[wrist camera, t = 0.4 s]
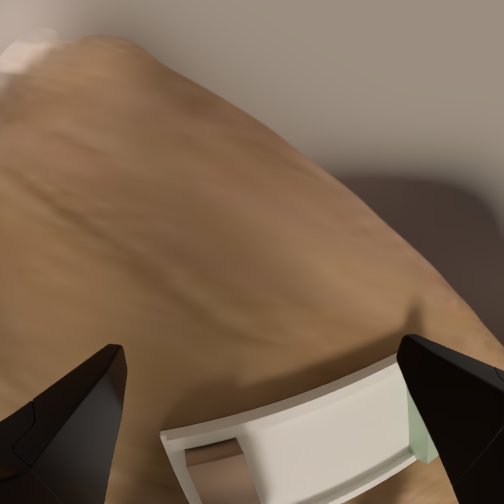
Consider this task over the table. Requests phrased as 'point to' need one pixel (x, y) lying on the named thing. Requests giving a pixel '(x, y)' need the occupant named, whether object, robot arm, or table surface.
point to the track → (319, 439)
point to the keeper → (221, 473)
